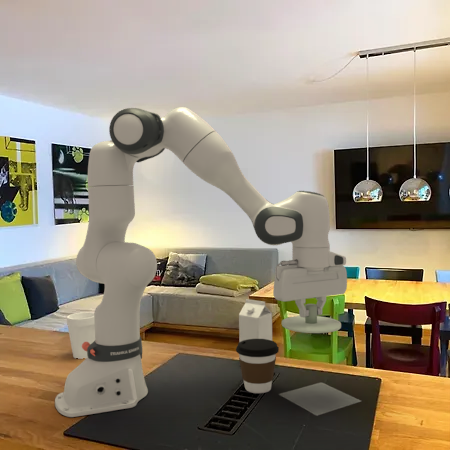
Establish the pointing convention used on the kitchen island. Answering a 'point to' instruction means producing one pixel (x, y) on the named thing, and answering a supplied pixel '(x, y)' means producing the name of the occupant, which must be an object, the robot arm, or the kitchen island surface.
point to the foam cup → (81, 332)
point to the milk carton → (255, 321)
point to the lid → (311, 322)
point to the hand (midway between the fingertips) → (310, 315)
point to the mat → (319, 398)
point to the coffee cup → (257, 363)
